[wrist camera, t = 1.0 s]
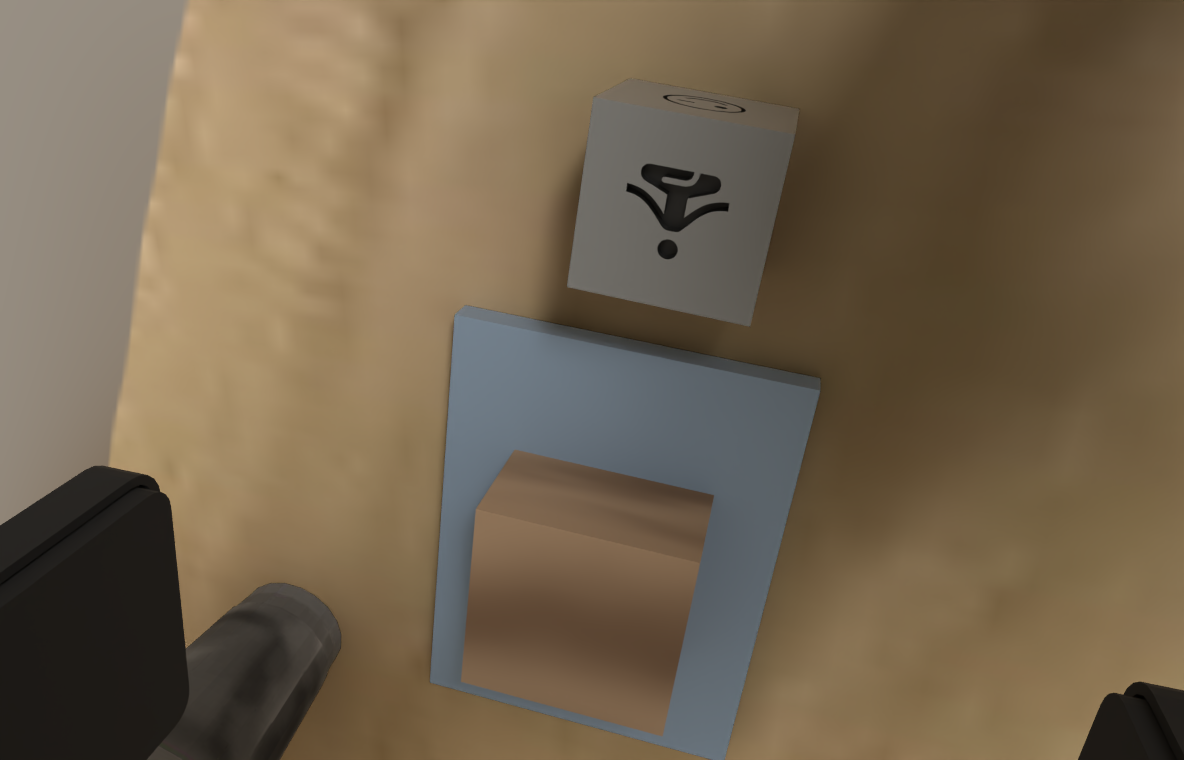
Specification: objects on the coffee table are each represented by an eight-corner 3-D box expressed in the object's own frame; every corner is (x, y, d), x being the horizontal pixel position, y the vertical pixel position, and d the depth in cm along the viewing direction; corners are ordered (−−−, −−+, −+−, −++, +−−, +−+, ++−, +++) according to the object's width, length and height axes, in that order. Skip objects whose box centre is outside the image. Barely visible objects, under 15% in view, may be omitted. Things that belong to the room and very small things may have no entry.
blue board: (465, 305, 31) (454, 314, 30) (820, 378, 29) (820, 390, 28) (438, 666, 38) (429, 682, 37) (726, 743, 36) (723, 762, 35)
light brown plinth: (514, 449, 32) (475, 508, 28) (714, 495, 31) (700, 562, 27) (497, 609, 35) (460, 681, 31) (679, 655, 34) (662, 736, 30)
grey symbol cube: (799, 108, 26) (795, 134, 22) (760, 272, 28) (749, 326, 24) (630, 78, 27) (593, 96, 23) (605, 240, 29) (567, 287, 25)
